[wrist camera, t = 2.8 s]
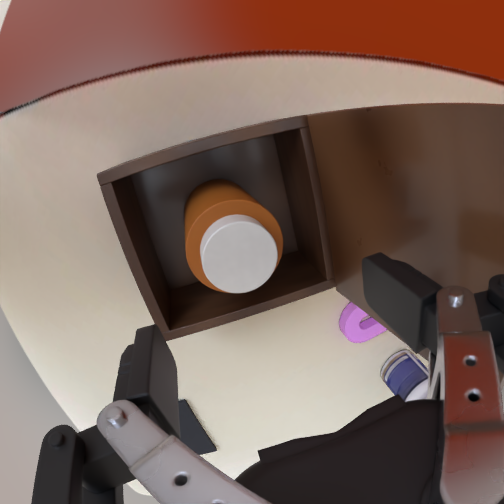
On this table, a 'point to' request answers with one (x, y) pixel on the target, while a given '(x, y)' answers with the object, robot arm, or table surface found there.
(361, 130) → the lid
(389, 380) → the pill bottle
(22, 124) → the table surface
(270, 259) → the bottle
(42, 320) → the table surface
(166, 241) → the chest
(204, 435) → the mat
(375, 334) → the bracket
